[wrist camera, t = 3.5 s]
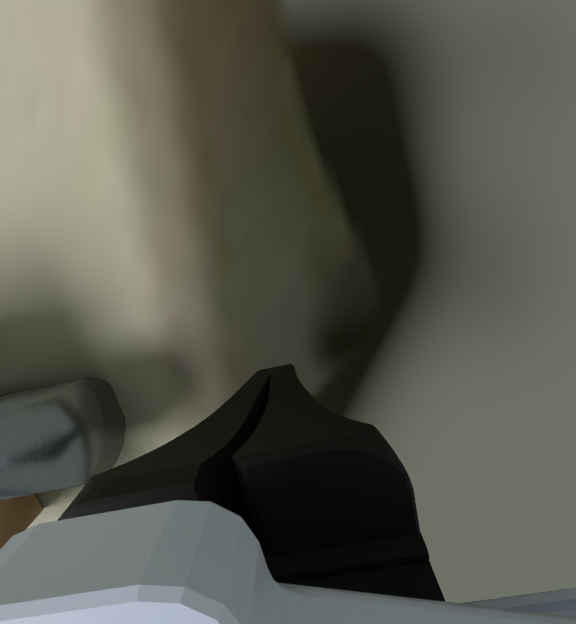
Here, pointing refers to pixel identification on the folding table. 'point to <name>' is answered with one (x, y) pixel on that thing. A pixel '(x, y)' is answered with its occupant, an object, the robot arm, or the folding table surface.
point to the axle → (58, 436)
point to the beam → (17, 515)
